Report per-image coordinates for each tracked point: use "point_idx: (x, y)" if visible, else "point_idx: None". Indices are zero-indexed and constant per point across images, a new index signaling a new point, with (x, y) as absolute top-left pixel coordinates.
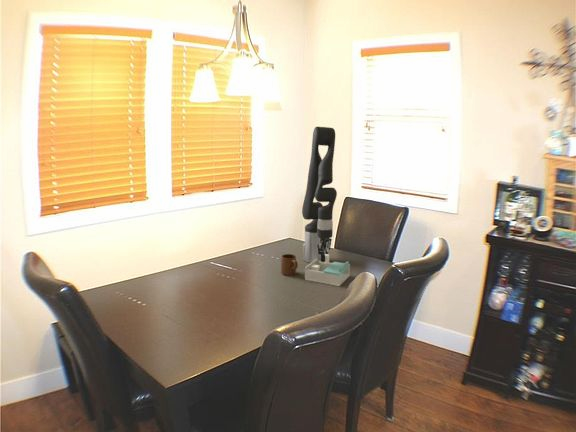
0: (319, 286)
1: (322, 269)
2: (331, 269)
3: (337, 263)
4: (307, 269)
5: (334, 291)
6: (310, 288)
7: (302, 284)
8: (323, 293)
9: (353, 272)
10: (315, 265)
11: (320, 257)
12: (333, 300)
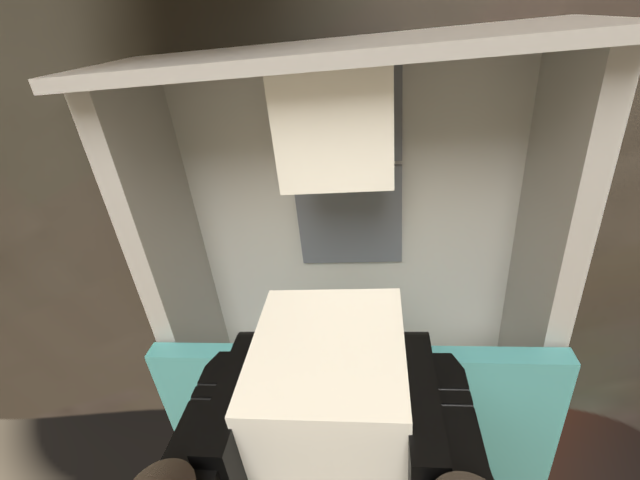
0: (120, 266)
1: (532, 133)
2: None
3: (510, 411)
4: (88, 114)
5: (130, 380)
6: (25, 220)
7: (26, 106)
8: (42, 335)
9: (614, 394)
10: (353, 132)
11: (240, 373)
12: (17, 409)
